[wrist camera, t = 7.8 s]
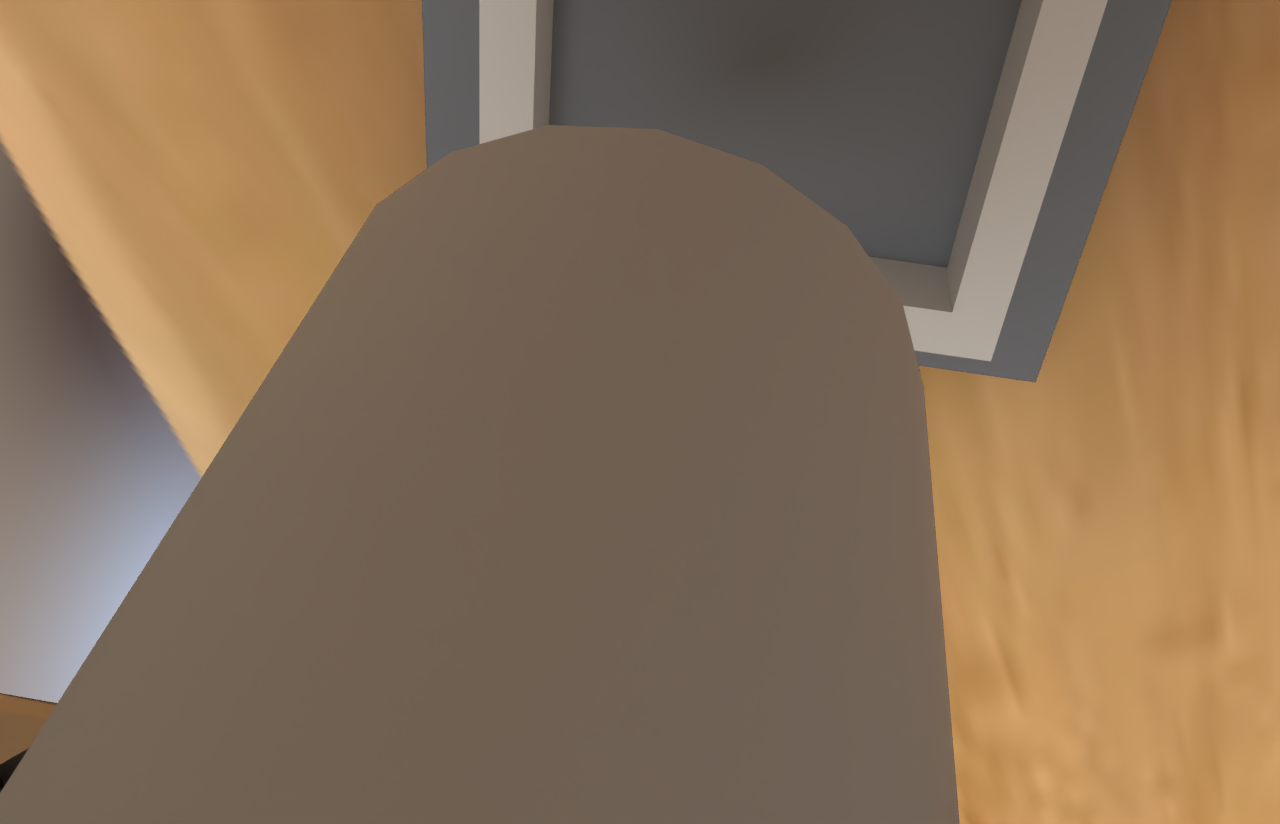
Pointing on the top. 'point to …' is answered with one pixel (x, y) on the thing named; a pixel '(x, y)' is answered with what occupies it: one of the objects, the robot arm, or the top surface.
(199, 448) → the top surface
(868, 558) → the can
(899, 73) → the grey flat square tray
